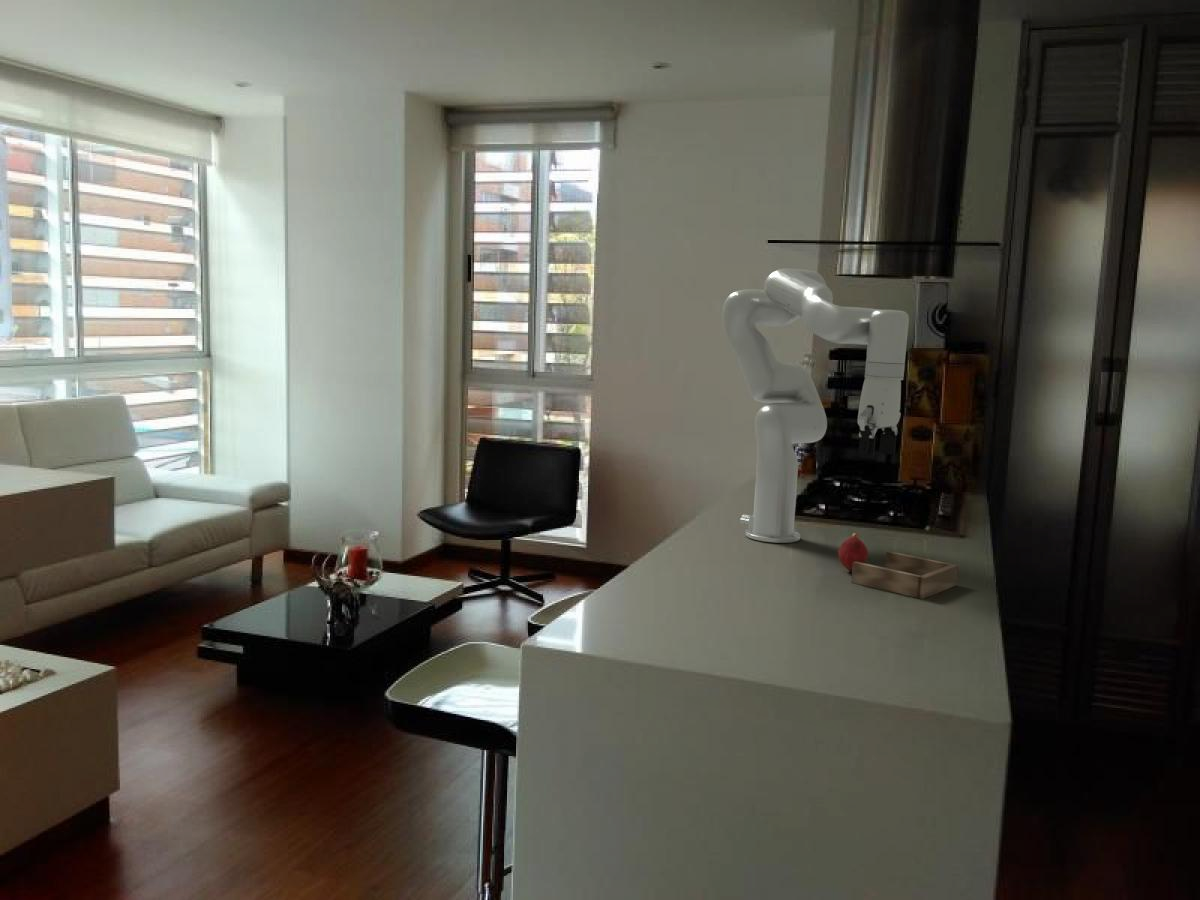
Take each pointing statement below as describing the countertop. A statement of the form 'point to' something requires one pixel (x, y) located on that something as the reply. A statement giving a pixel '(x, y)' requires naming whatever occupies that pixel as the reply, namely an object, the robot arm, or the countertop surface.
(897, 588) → the wooden tray
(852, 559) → the onion
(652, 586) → the countertop surface
